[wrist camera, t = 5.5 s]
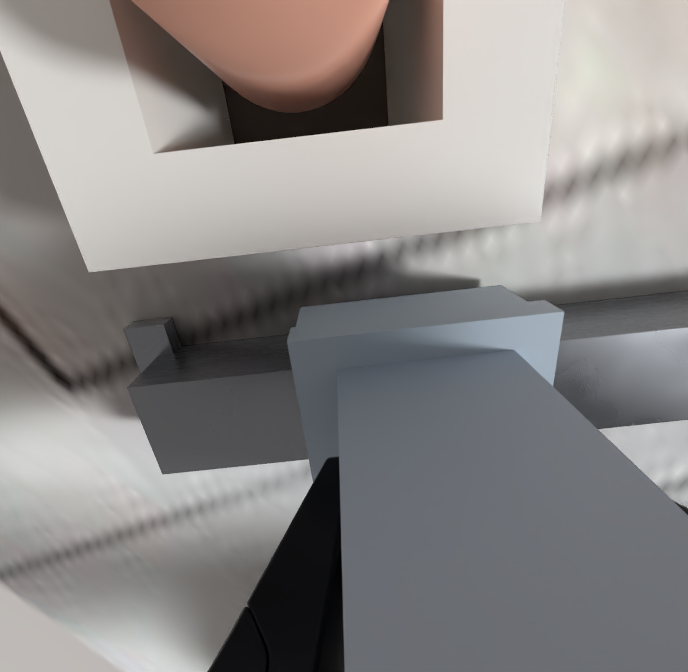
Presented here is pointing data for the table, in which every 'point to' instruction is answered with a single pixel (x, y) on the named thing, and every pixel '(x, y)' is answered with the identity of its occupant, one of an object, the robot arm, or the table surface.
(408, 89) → the white button housing
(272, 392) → the rail
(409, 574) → the carriage
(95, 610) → the table surface
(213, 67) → the button
